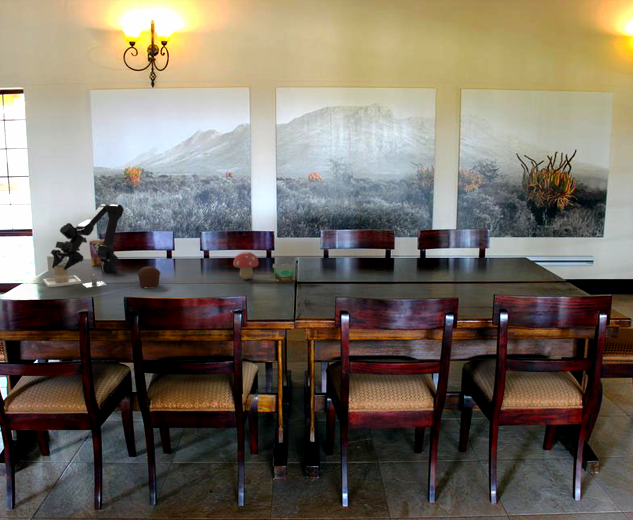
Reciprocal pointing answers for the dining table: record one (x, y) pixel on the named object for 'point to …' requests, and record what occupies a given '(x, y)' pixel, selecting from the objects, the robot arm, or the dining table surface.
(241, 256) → the decorative mushroom
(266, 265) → the dining table surface
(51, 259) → the supplement box
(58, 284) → the plastic tray
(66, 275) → the wooden pen holder
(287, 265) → the food container
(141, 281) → the muffin
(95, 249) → the candy box
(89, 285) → the white square pedestal
